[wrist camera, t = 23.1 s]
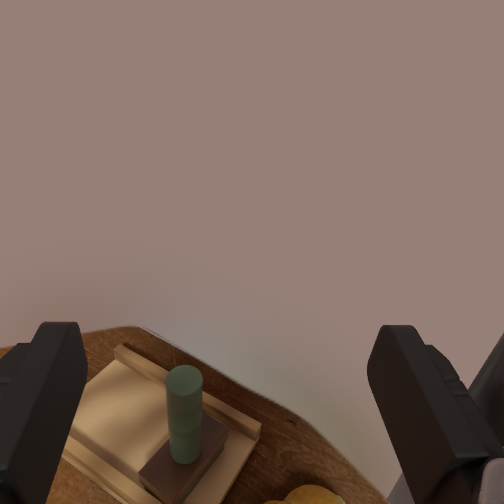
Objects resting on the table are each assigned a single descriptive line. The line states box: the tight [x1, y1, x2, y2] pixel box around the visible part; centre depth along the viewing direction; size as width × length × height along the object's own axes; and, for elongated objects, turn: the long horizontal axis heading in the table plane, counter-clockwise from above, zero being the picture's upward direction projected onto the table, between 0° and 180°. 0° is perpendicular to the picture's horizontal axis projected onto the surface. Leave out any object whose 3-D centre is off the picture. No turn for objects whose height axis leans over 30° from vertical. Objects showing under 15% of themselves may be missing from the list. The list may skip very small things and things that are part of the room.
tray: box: [61, 344, 261, 504], centre depth 36 cm, size 18×11×3 cm, turn 61°
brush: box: [138, 365, 229, 504], centre depth 30 cm, size 4×7×12 cm, turn 146°
